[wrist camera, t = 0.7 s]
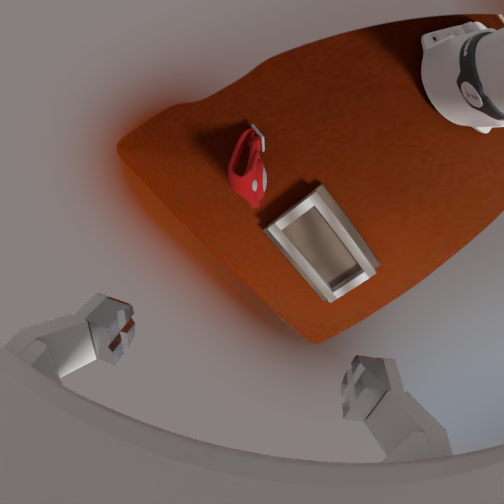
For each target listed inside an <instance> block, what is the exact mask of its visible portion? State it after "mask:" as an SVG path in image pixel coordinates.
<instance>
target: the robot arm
mask: <svg viewBox="0 0 504 504" xmlns="http://www.w3.org/2000/svg"><path fill="white" fill-rule="evenodd" d="M433 38H434V39H435V41H434V40H433ZM421 42H422V47H423V52H424V54H423V60H422V65H421V76H422V82H423V85H424V88H425V91H426V93H427V96H428V98H429V99H430V101H431V103H432V104H433V106H434V107H435V108H436V109H437V110H438V112H439V113H440V114H441V115H443V116H444V117H445V118H446V119H448V120H449V121H451V122H453V123H455V124H458V125H463V126H470V127H473V128H474V129H476V130H477V131H479V132H481V133H488V132H489V131H490V130H491V128H492V127H504V28H502V29H500V30H498V31H496V30H495V29H493V28H489V29H487V28H486V27H485V26H484V25H483V24H481V23H480V22H473V23H472V22H468V23H465V24H463V25H459V26H454V27H450V28H446V29H442V30H438V31H434V32H431V33H427V34H424V35H423V36H422V37H421ZM133 314H134V310H133V306H132V305H131V304H128V303H126V302H123V301H120V300H117V299H114V298H111V297H108V296H105V295H102V294H100V293H98V294H95V295H94V296H93V297H92V298H91V299H90V300H89V301H88V302H87V303H86V304H85V305H84V306H83V307H82V308H81V309H80V310H78V311H77V312H76V314H74V315H72V314H69V315H66V316H63V317H59V318H56V319H53V320H50V321H46V322H43V323H40V324H36V325H33V326H30V327H26V328H23V329H21V330H20V331H19V332H18V333H17V334H16V335H15V336H14V337H13V338H12V339H11V340H10V341H8V343H6V344H5V345H4V346H1V345H0V504H504V444H501V445H497V446H494V447H490V448H486V449H482V450H477V451H473V452H468V453H463V454H457V455H452V451H451V447H450V443H449V440H448V436H447V432H446V429H445V428H444V427H443V426H442V425H441V424H440V423H439V422H438V421H437V420H436V419H435V418H434V417H433V416H431V414H430V413H428V411H427V410H426V409H424V408H423V406H422V405H421V404H420V403H418V402H417V400H416V399H415V398H413V396H411V395H410V394H409V393H408V392H405V391H404V389H403V385H402V382H401V379H400V375H399V371H398V368H397V365H396V362H395V360H394V359H386V358H375V357H366V356H358V355H356V356H355V357H354V358H353V360H352V362H351V366H352V368H351V369H350V370H348V371H346V374H345V376H344V377H343V381H342V387H341V395H342V396H343V397H344V399H345V401H344V403H343V405H342V408H343V419H348V420H358V421H365V424H366V425H367V427H368V428H369V430H370V431H371V433H372V434H373V436H374V437H375V439H376V440H377V442H378V443H379V445H380V446H381V448H382V449H383V451H384V452H385V454H386V455H387V457H386V458H385V459H384V460H383V461H382V462H379V463H348V462H324V461H312V460H302V459H292V458H284V457H277V456H270V455H264V454H258V453H253V452H247V451H242V450H237V449H233V448H228V447H223V446H219V445H215V444H211V443H208V442H204V441H200V440H197V439H193V438H190V437H186V436H183V435H179V434H176V433H173V432H170V431H167V430H164V429H161V428H158V427H155V426H153V425H150V424H147V423H144V422H141V421H139V420H137V419H134V418H132V417H129V416H126V415H124V414H122V413H119V412H117V411H115V410H112V409H110V408H108V407H106V406H104V405H101V404H99V403H97V402H95V401H93V400H91V399H89V398H87V397H85V396H83V395H81V394H79V393H77V392H75V391H73V390H71V389H69V388H67V387H66V386H64V385H63V384H62V382H61V380H60V378H61V377H63V376H65V375H67V374H69V373H70V372H72V371H74V370H76V369H78V368H80V367H82V366H84V365H86V364H88V363H90V362H92V361H94V360H95V359H97V358H99V359H101V360H104V361H106V362H109V363H111V364H114V365H116V363H117V362H118V361H119V359H120V358H121V356H122V355H123V354H124V353H123V348H125V347H127V346H129V345H130V343H131V342H132V340H133V337H134V335H135V322H134V321H133V319H132V318H131V317H132V316H133Z"/></svg>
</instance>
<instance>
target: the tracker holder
mask: <svg viewBox="0 0 504 504" xmlns="http://www.w3.org/2000/svg"><path fill="white" fill-rule="evenodd" d="M251 139H252V145H251V149H250V154H249V159H248V165H247V168H246V171H245V173H244V174H243V176H241V177H240V176H239V175H237V174H236V173H235V172H236V169H237V166H238V163H239V160H240V157H241V154H242V151H243V148H244V146H245V145H246V143H247V142H248V141H249V140H251ZM260 150H261V151H262V152H264V151H265V146H264V136H263V135H262V134H261V132H260V131H259V130H258V129H257V128H256V127H255V126H254V124H252V125H251V128H250V129H247V130H246V131H244V132H243V133H242V135H241V136H240V138H239V140H238V142H237V144H236V147H235V149H234V152H233V154H232V157H231V159H230V162H229V165H228V178H229V186H230V188H231V189H232V190H233V191H234V192H235V193H237V194H238V195H240V196H242V197H243V198H244V199H245V200H247V201H248V202H249V205H250V206H251V207H252V208H256V207H260V204H261V199H262V198H263V196H264V194H265V191H266V184H267V177H266V169H265V165H264V163H263V162H262V161H261V157H260V154H259V152H258V151H260Z"/></svg>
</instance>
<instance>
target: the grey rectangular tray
mask: <svg viewBox="0 0 504 504" xmlns="http://www.w3.org/2000/svg"><path fill="white" fill-rule="evenodd" d="M263 231H264V233H265V234H266V235H267V236H268V237H269V238H270V239H271V241H272V242H273V243H274V244H275V245H276V246H277V247H278V249H279V250H280V251H281V252H282V253H283V254H284V256H285V257H286V258H287V259H288V260H289V261H290V262H291V264H292V265H293V266H294V267H295V268H296V269H297V271H298V272H299V273H300V274H301V275H302V276H303V278H304V279H305V280H306V281H307V282H308V283H309V285H310V286H311V287H312V288H313V289H314V291H315V292H316V293H317V294H318V295H319V296H320V298H321V299H322V300H323V301H324V302H325V301H326V300H328V301H329V302H330V303H331V302H333V301H334V300H336V299H338V298H339V297H341V296H342V295H344V294H345V293H347V292H349V291H350V290H352V289H353V288H355V287H356V286H358V285H359V284H361V283H362V282H364V281H366V280H367V279H369V278H370V277H372V276H373V275H375V274H376V271H375V268H377V267H378V266H380V263H379V261H378V260H377V258H376V257H375V255H374V254H373V252H372V251H371V250H370V248H369V247H368V245H367V244H366V242H365V241H364V239H363V238H362V237H361V235H360V234H359V232H358V231H357V230H356V228H355V227H354V225H353V224H352V223H351V221H350V220H349V219H348V217H347V216H346V214H345V213H344V212H343V210H342V209H341V208H340V206H339V205H338V204H337V202H336V201H335V200H334V198H333V197H332V196H331V195H330V193H329V192H328V191H327V189H326V188H325V187H324V186H323V184H322V183H321V184H320V185H319V186H317V187H316V188H315V189H313V190H312V191H311V192H310V193H308V194H307V195H306V196H304V197H303V198H302V199H300V200H299V201H298V202H296V203H295V204H294V205H293V206H291V207H290V208H289V209H287V210H286V211H285V212H283V213H282V214H281V215H280V216H278V217H277V218H276V219H274V220H273V221H272V222H270V223H269V224H268V225H267V226H265V227H264V228H263Z"/></svg>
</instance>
